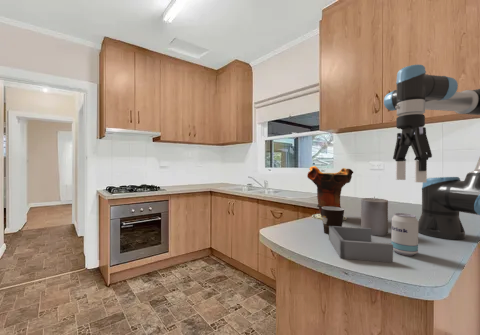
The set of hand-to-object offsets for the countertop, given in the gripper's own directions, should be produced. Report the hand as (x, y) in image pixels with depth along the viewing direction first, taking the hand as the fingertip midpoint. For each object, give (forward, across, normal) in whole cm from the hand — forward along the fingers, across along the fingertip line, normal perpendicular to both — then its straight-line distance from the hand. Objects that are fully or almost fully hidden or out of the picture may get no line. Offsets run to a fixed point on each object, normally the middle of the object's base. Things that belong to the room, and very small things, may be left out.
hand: (409, 181), depth 77 cm
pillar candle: (+23, -20, -5) cm, 30 cm away
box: (+22, +4, -17) cm, 28 cm away
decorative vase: (+23, -46, -19) cm, 55 cm away
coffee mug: (+23, -16, -22) cm, 35 cm away
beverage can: (+23, +3, -3) cm, 23 cm away
